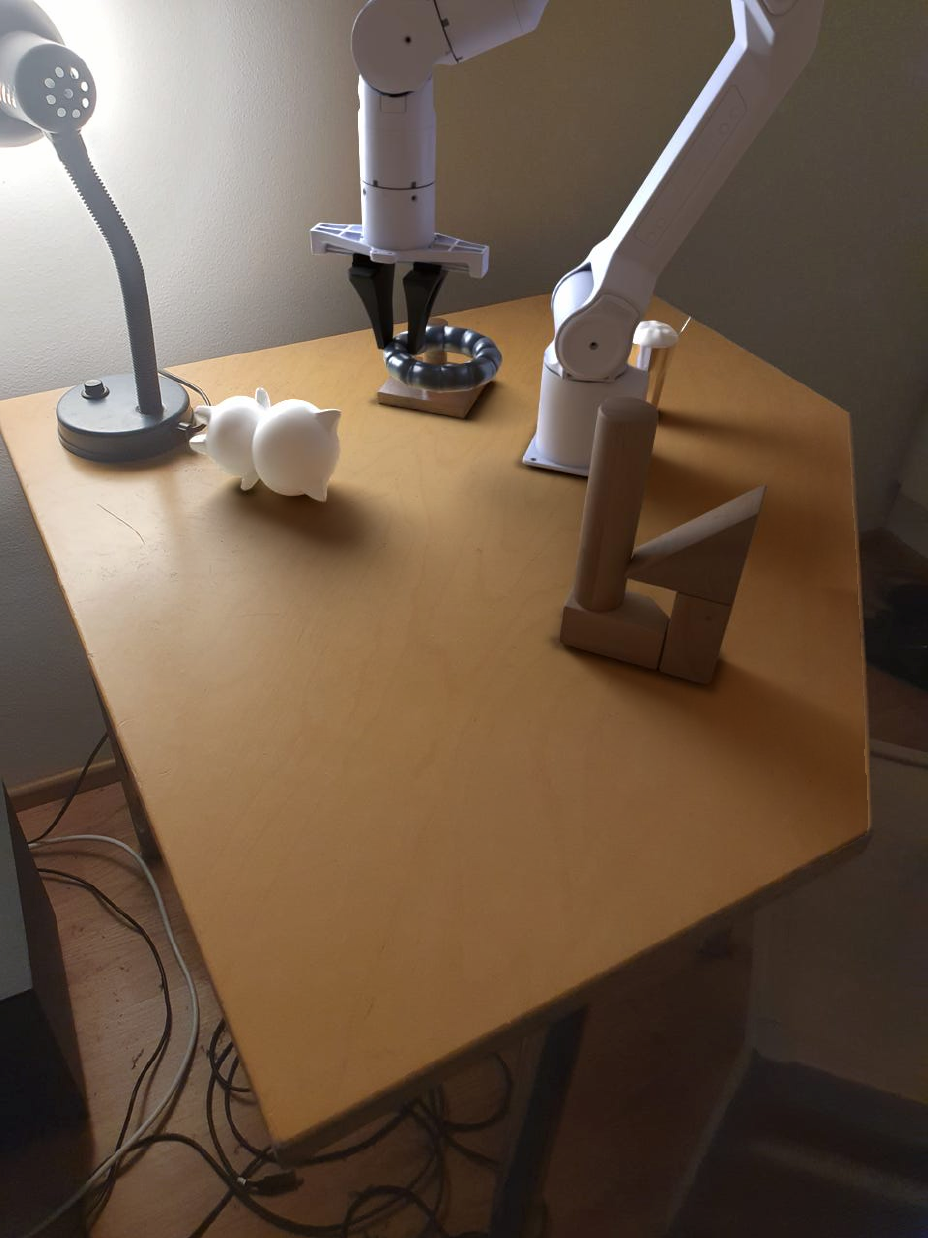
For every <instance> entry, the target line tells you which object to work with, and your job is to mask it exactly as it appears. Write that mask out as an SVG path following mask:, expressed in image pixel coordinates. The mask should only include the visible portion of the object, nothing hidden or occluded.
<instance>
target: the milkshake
mask: <svg viewBox="0 0 928 1238" xmlns="http://www.w3.org/2000/svg"><path fill="white" fill-rule="evenodd" d="M690 320H691V315H688V317H687V319H686V320H685V322H684V323H683V325H682V326H681V327H680V329H679V331H678V333H677V332H676V330H675V329H674V328H673V327H672V326H671V325H670V324H666V323H664V322H661V321H659V320H646V321H645V320H644V321H643V320H642V321H641V322H640V324H639V325H638V327H637V329H636V332H635V334H634V339H633V346H632V350H631V353H630V356H629V358H628V363H629V364H630V365H632V366H634V367H636V368H639V369H642V370H646V371H648V372H650V380H649V387H648V393H647V398H646V401H647V402H649V403H651V404H652V405H653V406H654V407H655V408H656V409H657V410H658V408H659V406H660V402H661V398H662V394H663V390H664V387H665V383H666V379H667V375H668V372H669V369H670V366H671V364H672V360H673V357H674V353H675V350H676V347H677V343H678V341H679V336H680V335H681V333H682V332H683V331H684V329H685V327H687V324H688V323H689V321H690Z"/></svg>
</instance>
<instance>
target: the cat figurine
mask: <svg viewBox="0 0 928 1238" xmlns="http://www.w3.org/2000/svg"><path fill="white" fill-rule="evenodd" d="M193 415H194V417H195V419H196V420H197V421H198V422H199V423H202V424H203V425H205V426H206V430H205V434H199V435H195V436H193V437H191V439H190V440H189V443H188V444H189V446H190V449H191V450H192V451H194V452H196V453H199V454H203V455H205V456H207V457H208V458H209V459H210V460H211V461H212V463H213V464H214V465H215V467H216V468H217V469H218V470H219V471H221V472H222V473H224V474H225V475H228V476H230V477H236V478H237V477H239V478H242V479H241V482H240V489H242V490H243V491H248V490H250V489H252V488H253V487H254V486H255V484H256V483H258V480H261V481H262V483H263V484H264V485H265V486H266V487H267V488H269V489H270V490H271V491H273V492H275V493H277V494H280V495H283V496H288V497H295V496H301V495H307V496H308V497H310V498H311V499H313V500H315V501H318V502H322V503H323V502H326V501H327V498H328V497H327V496H328V495H327V494H328V485H329V481H330V479H331V478H332V476H333V474H334V473H335V472H336V469H337V468H338V465H339V462H340V458H341V442H340V439H339V435H338V428H339V424H340V420H341V418H342V410H340V409H337V408H327V409H319V407H317V406H315V405H314V404H312V403H310V402H308V401H305V400H301V399H287V400H283V401H281V402H278V403H276V404H275V405H273V406H272V404H271V401H270V397H269V394H268V392H267V391H266V390H265V389H264V388H263V387H258V388H256V390H255V399H254V398H253V397H252V398H251V397H248V396H244V395H236V396H232V397H229V398H227V399H226V400H223V401H222V402H221V403H219V404H216V405H215V406H214V405H213V406H209V405H198V406H197V407H196V408H195V409H194V411H193Z"/></svg>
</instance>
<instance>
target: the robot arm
mask: <svg viewBox="0 0 928 1238" xmlns="http://www.w3.org/2000/svg"><path fill="white" fill-rule="evenodd" d="M549 1H550V0H368V1H367V3H366V4H365V5H364V6H363V7H362V8H361V9H360V11H359V12H358V14H357V16H356V18H355V20H354V23H353V26H352V30H351V36H350V51H351V56H352V59H353V62H354V65H355V67H356V70H357V71H358V73H359V78H358V79H359V80H358V89H357V90H358V96H359V103H360V104H359V105H360V108H359V110H358V113H357V114H358V115H357V117H358V140H359V141H358V145H359V170H360V171H359V173H360V192H361V193H360V194H361V220H362V222H361V223H362V224H342V223H341V224H338V223H325V222H319V223H317V224H316V225H315V226H314V227H312V228H311V229H310V230H309V233H310V234H309V235H310V247H311V254H312V255H318V256H324V255H326V254H333V255H340V256H347V257H352V262H351V266H350V267H349V268H348V269H347V277H348V281H349V282H350V284H351V285H352V287H353V289H354V290H355V292H356V293H357V295H358V297H359V298H360V300H361V302H362V305H363V306H364V309H365V311H366V314H367V316H368V319H369V321H370V325H371V328H372V332H373V335H374V339H375V343H376V347H377V349H378V350H382V351H384V349H385V347H386V346H387V345H388V344H389V343H390V342H391V340H392V339H393V338H394V330H395V329H394V326H395V325H394V306H393V305H394V303H393V301H394V300H393V295H394V283H395V282H394V281H395V272H396V264H401V265H408V266H412V269H410V270H409V271H408V272H407V273H406V274H405V275H404V276H403V277H402V287H403V290H404V291H403V292H404V297H405V303H406V313H407V331H408V334H407V347H408V353H409V354H412V355H417V354H418V352H419V351H420V350H421V349H422V347H423V344H424V337H425V332H426V328H427V324H428V320H429V318H431V317H430V316H431V314H432V311H433V308H434V304H435V302H436V301H437V297H438V295H439V293H440V291H441V288H442V286H443V284H444V282H445V281H446V278H447V276H448V274H449V272H456V273H463V274H468V275H469V277H471V278H475V279H483V277H484V276H485V275H486V274H487V272H488V271H489V262H490V261H489V260H490V246H489V245H485V244H479V243H474V242H470V241H467V240H462V239H459V238H455V237H453V236H449V235H446V234H442V233H438V232H436V230H435V229H436V158H437V157H436V155H437V152H436V151H437V149H436V147H437V113H436V111H435V108H434V72H433V71H434V68H435V66H436V65H447V66H451V67H453V66H456V65H458V64H460V63H463V62H465V61H467V60H470V59H472V58H473V57H476V56H478V55H480V54H482V53H485V52H487V51H489V50H492V49H494V48H496V47H499V46H501V45H504V44H505V43H508V42H510V41H513V40H515V39H517V38H519V37H522V36H524V35H526V34H528V33H531V32H534V31H535V30H536V29H537V28H538V26H539V23H540V21H541V18H542V16H543V13H544V10H545V8H546V7H547V4H548V3H549ZM730 4H731V12H732V20H733V25H734V32H735V34H734V35H735V36H734V40H733V43H732V44H731V45H730V47H729V48H728V49H727V52H726V53H725V55H724V56H723V58H722V60H721V61H720V63H718V65H717V67H716V69H715V70H714V72H713V74H712V75H711V77H709V80H708V81H707V83H706V84H705V85H704V87H703V89H702V91H701V92H700V94H699V95H698V97H697V98H696V99H695V101H694V103H693V105H692V106H691V107H690V109H689V111H688V112H687V114H686V115H685V117H684V119H683V120H682V121H681V122H680V125H679V126H678V128H677V129H676V131H675V133H674V134H673V135H672V137H671V139H670V140H669V142H668V144H667V145H666V147H665V148H664V149H663V151H662V153H661V154H660V156H659V157H658V159H657V161H656V162H655V164H654V165H653V167H652V169H651V170H650V171H649V173H648V175H647V176H646V178H645V179H644V181H643V182H642V184H641V185H640V187H639V189H638V190H637V192H636V193H635V195H634V196H633V198H632V199H631V201H630V203H629V204H628V206H627V207H626V209H625V210H624V212H623V214H622V215H621V217H620V218H619V220H618V222H617V223H616V225H615V226H614V228H613V229H612V231H611V232H610V234H609V235H608V236H607V237H606V238H605V239H603V240H602V241H600V242H599V243H597V244H596V245H595V246H594V247H593V248H592V249H591V251H590V253H589V254H588V256H587V257H586V258H585V259H584V261H583V262H582V263H581V264H580V265H579V266H577V267H575V268H574V269H572V270H571V271H569V272H567V273H566V274H565V275H564V276H563V277H561V279H560V280H559V281H558V282H557V284H556V286H555V287H554V289H553V292H552V296H551V304H550V305H551V306H550V307H551V313H552V316H553V320H554V321H553V323H554V337H553V338H554V339H553V341H552V342H551V343H550V344H549V345H548V346H547V347H546V349H545V351H544V353H543V362H542V363H543V364H542V373H541V384H540V393H539V402H538V403H539V404H538V412H537V413H538V415H537V423H536V424H537V425H536V432H535V434H534V436H533V438H532V439H531V441H530V443H529V445H528V447H527V450H526V451H525V453H524V455H523V457H522V464H524V465H526V466H532V467H536V468H542V469H547V470H553V471H556V472H562V473H568V474H573V475H578V476H584V477H587V478H588V477H589V470H590V463H591V457H592V450H593V443H594V436H595V429H596V422H597V415H598V409H599V407H600V405H601V404H602V403H603V402H604V401H605V400H608V399H610V398H614V397H633V398H638V399H641V400H644V401H646V398H647V393H648V387H649V380H650V372H648V371H646V370H642V369H639V368H636V367H634V366H632V365H630V364H629V363H628V358H629V356H630V353H631V350H632V346H633V339H634V334H635V332H636V329H637V327H638V325H639V324H640V322H643V319H644V318H645V317H646V315H647V313H648V310H649V307H650V303H651V301H652V298H653V293H654V290H655V287H656V284H657V281H658V279H659V277H660V275H661V274H662V272H663V271H664V269H665V268H666V267H667V265H668V263H669V262H670V261H671V260H672V259H673V257H674V255H675V253H676V252H677V251H678V249H679V248H680V247H681V245H682V244H683V242H684V241H685V240H686V238H687V237H688V236H689V234H690V233H691V231H692V230H693V228H694V226H695V225H696V223H698V221H699V220H700V218H701V216H702V215H703V214H704V213H705V211H706V209H707V208H708V206H709V205H710V203H711V202H712V201H713V199H714V198H715V196H716V195H717V193H718V192H719V191H720V189H721V188H722V186H723V185H724V184H725V182H726V180H727V179H728V178H729V176H730V175H731V173H732V172H733V171H734V169H735V168H736V166H737V165H738V163H739V162H740V161H741V159H742V158H743V156H744V155H745V153H746V152H747V150H748V149H749V147H750V146H751V145H752V143H753V142H754V140H755V139H756V138H757V136H758V134H759V133H760V132H761V130H763V128H764V126H765V125H766V123H767V122H768V121H769V119H770V117H771V116H772V115H773V113H774V112H775V110H776V108H777V107H778V106H779V105H780V103H781V101H782V100H783V99H784V98H785V97H786V95H787V93H788V92H789V90H790V89H791V87H792V86H793V84H794V83H795V82H796V80H797V79H798V77H799V76H800V75H801V73H802V72H803V70H804V68H805V67H806V66H807V64H808V63H809V62H810V60H811V58H812V56H813V53H814V52H815V50H816V46H817V43H818V38H819V32H820V28H821V27H820V26H821V22H822V16H823V12H824V11H823V10H824V4H825V0H730ZM417 356H418V355H417Z"/></svg>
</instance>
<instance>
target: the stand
mask: <svg viewBox="0 0 928 1238" xmlns="http://www.w3.org/2000/svg"><path fill="white" fill-rule="evenodd" d="M428 326H449V322H448V321H447V320H446V319H444V318H441V317H429V320H428V324H427V327H428ZM448 353H449V352H445V351H443V352H428V353H422V356H419V355H417V356H414V357H412V358H414V359H416V360H418V361H420V362H426V363H432V364H438V365H448V364H460V363H458V362H452V361H448ZM486 385H487V383H486V384H483V385H481V386H478V387H476V388H473V389H471V390H467V391H456V392H443V393H439V392H433V391H427V390H421V389H415V388H411V387H409V386H408V385H406V384H404V383H402V382H400V381H398V380H396V379H394V378H393V377H392V376H391V375H389V377H388V379H386V381H384V383H383V384H382V385H381V387H380V388H379V389H378V390H377V392H376V393H377V394H376V395H377V403H379V404H383V405H389V406H393V407H394V406H395V407H400V408H405V409H411V410H417V411H421V412H427V413H431V414H432V413H433V414H438V415H443V416H448V417H455V418H459V419H464V418H465V417H466V416H467V414H468V412H469V411H470V409H471V408H472V407H473V405H474V403H475V402H476V400H477V399H478V397H479V396H480V394H481V393H482V391H483V390H484V388H485V387H486Z"/></svg>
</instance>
